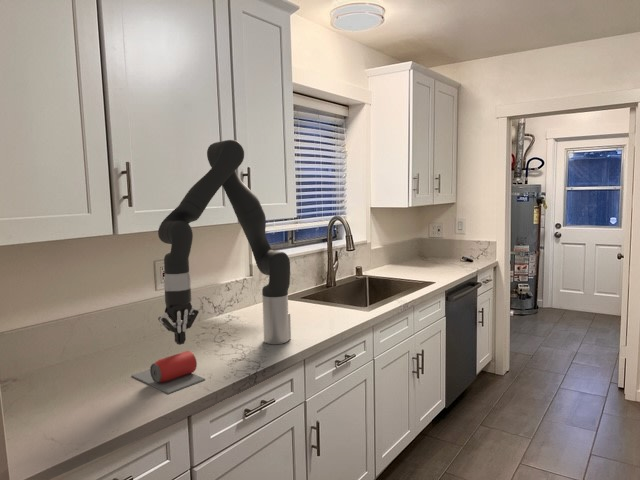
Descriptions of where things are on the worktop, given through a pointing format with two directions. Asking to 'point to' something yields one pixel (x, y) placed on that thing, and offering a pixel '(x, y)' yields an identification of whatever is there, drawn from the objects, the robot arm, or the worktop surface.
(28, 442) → the worktop surface
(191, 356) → the beer can
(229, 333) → the worktop surface
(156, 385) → the slate mat
